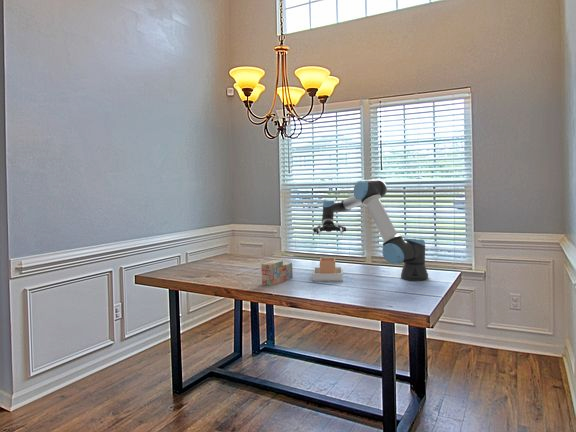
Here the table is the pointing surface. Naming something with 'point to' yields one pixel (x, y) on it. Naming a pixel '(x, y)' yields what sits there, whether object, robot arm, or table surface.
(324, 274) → the grey crate
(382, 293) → the table surface
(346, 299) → the table surface
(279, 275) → the stack of blocks
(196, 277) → the table surface
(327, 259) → the terracotta crate
